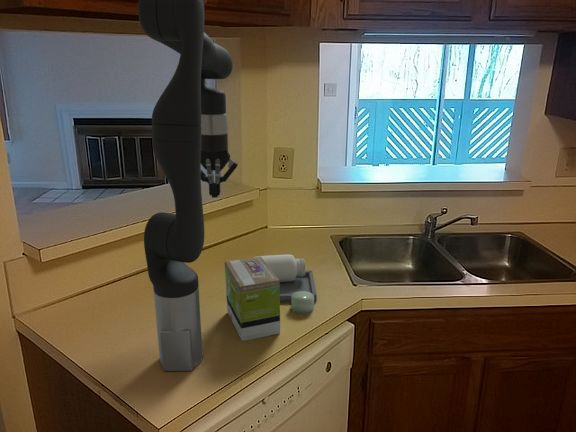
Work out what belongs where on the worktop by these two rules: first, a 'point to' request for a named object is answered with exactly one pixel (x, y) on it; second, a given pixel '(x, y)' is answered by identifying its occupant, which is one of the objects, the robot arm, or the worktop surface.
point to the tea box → (253, 298)
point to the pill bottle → (285, 266)
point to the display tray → (298, 287)
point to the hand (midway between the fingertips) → (215, 196)
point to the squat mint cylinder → (302, 302)
